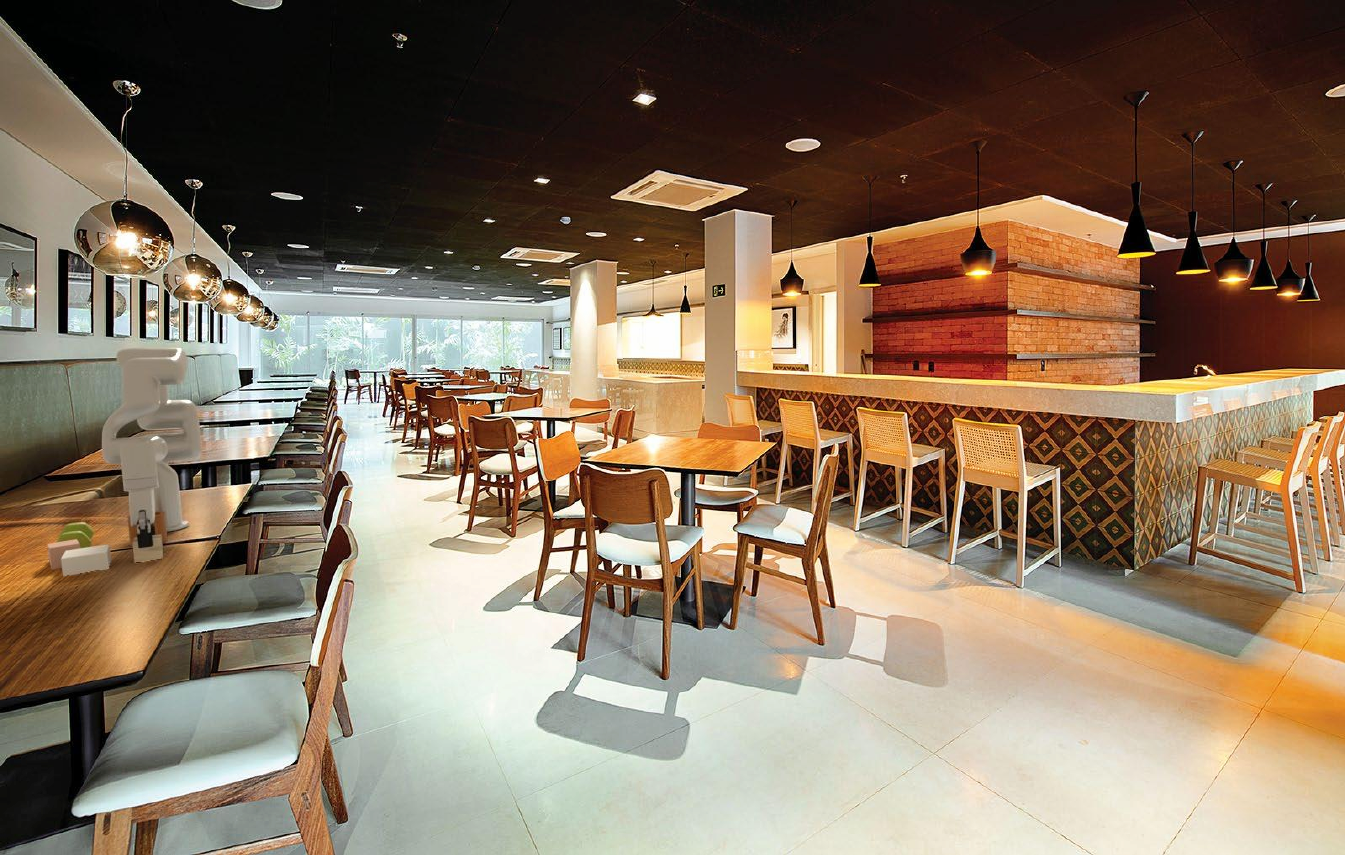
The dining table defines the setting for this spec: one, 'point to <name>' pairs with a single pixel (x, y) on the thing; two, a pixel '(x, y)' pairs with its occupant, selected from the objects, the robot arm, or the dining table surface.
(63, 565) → the base block
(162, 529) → the mug
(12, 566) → the dining table surface
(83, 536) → the dumbbell
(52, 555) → the pink cube
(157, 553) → the maple cube
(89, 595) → the dining table surface
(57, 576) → the dining table surface
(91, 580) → the dining table surface
